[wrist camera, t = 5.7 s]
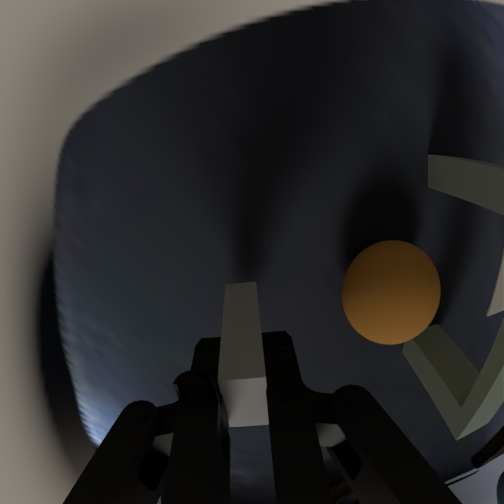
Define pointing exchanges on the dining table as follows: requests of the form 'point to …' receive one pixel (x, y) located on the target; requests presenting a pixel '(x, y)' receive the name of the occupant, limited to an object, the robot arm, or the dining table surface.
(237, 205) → the dining table surface
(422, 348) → the bridge
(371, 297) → the ball
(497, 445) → the diary
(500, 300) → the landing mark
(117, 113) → the dining table surface
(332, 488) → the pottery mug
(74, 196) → the dining table surface
